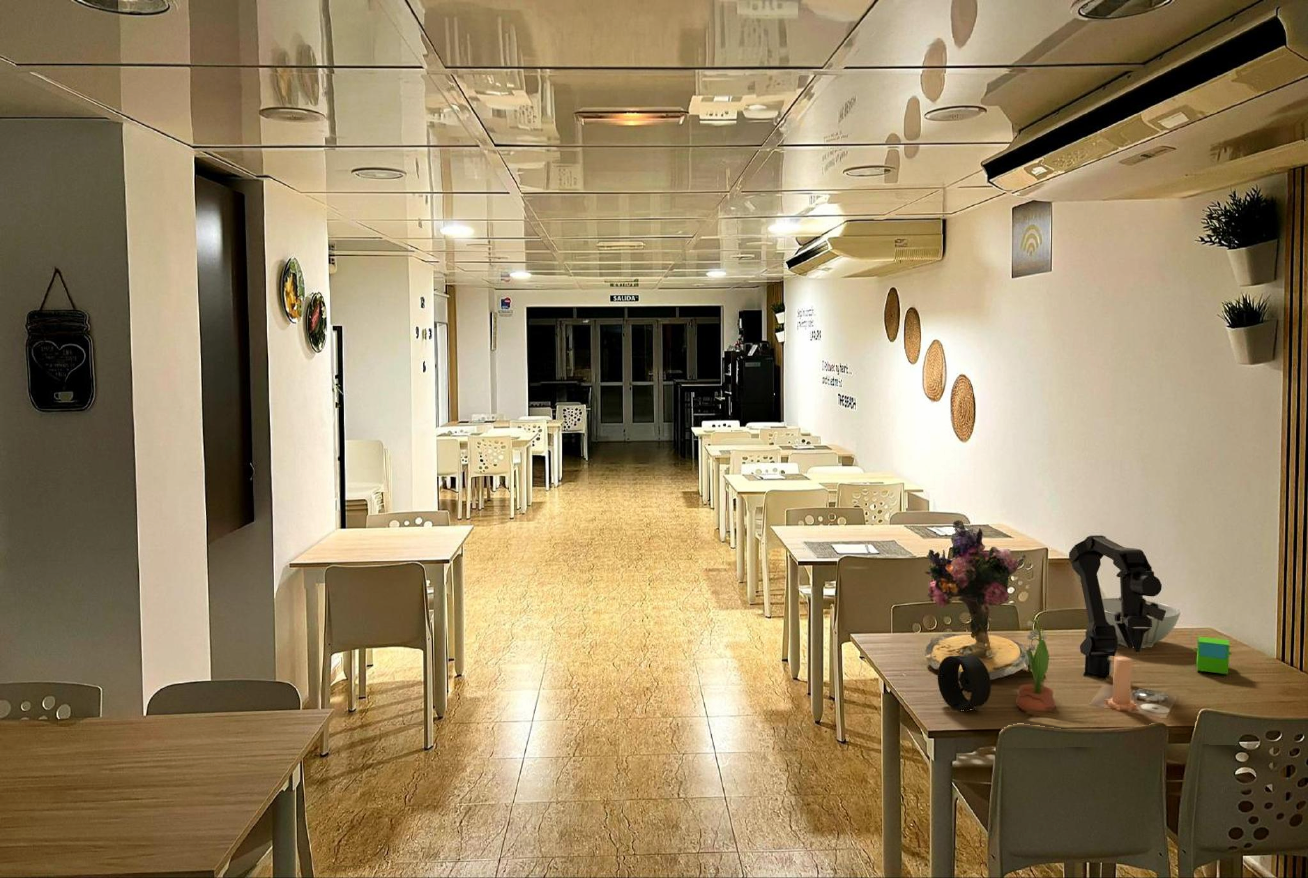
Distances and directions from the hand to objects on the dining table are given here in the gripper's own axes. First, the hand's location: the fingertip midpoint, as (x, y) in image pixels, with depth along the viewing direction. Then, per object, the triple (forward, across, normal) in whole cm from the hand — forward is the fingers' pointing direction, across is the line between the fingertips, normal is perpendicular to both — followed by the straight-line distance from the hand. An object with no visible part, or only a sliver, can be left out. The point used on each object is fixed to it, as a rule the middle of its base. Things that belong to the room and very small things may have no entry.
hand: (1133, 650), depth 303 cm
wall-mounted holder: (+14, -20, +46) cm, 52 cm away
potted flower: (+14, -16, +29) cm, 36 cm away
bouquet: (+8, +18, +41) cm, 45 cm away
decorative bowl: (+5, +59, -12) cm, 61 cm away
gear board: (+14, -7, +2) cm, 16 cm away
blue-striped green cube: (+10, +34, -29) cm, 46 cm away
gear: (+12, -4, -3) cm, 13 cm away
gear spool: (+13, -13, +7) cm, 20 cm away
